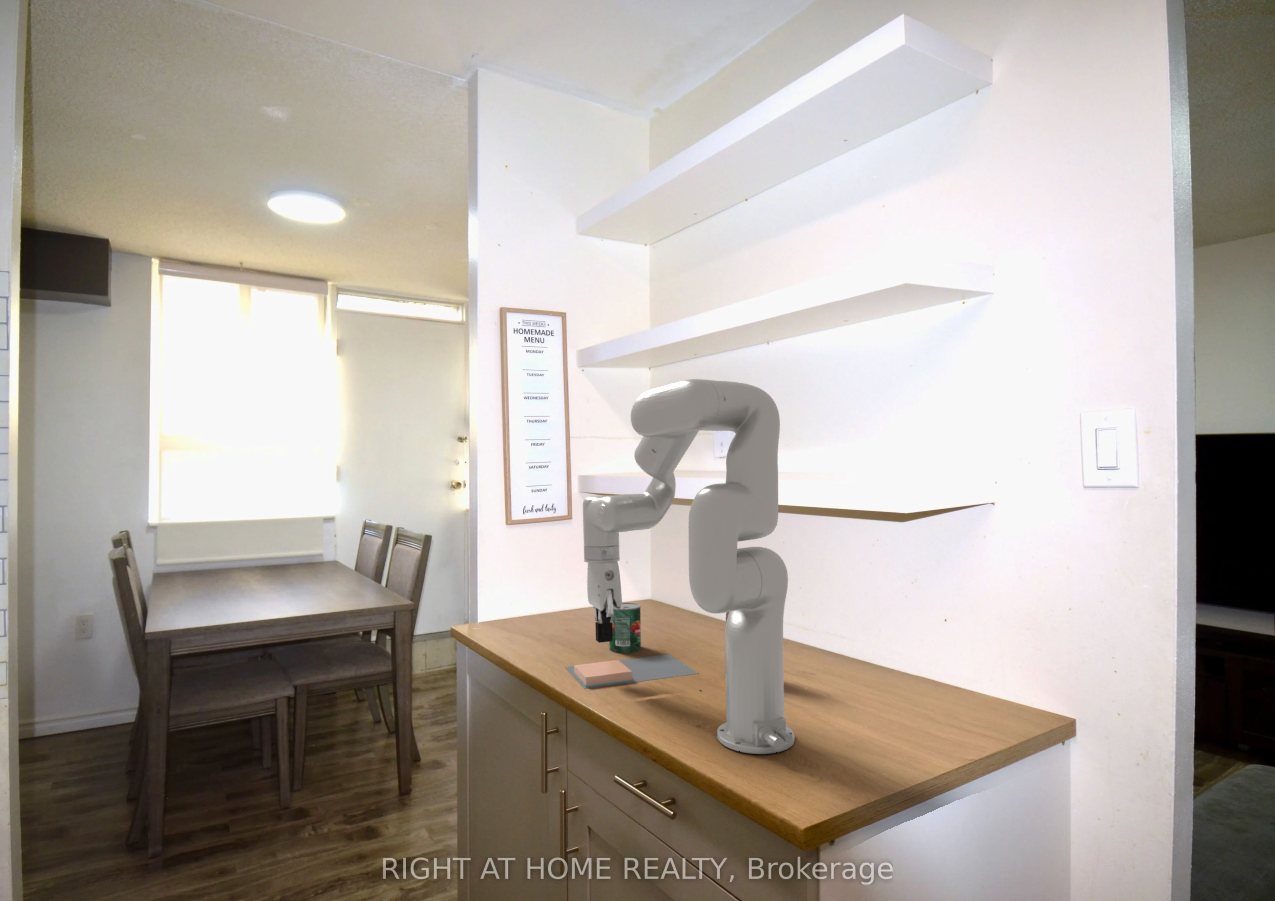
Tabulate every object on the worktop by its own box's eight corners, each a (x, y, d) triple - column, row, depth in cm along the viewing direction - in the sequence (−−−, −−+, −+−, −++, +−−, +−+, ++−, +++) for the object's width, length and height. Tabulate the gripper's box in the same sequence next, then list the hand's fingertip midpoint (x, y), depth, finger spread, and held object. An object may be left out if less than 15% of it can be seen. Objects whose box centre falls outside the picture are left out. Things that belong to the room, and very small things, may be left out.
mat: (699, 675, 147) (698, 673, 147) (584, 691, 138) (584, 688, 138) (669, 656, 162) (669, 654, 162) (564, 669, 153) (564, 666, 153)
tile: (618, 668, 151) (632, 680, 143) (574, 674, 148) (585, 687, 139) (617, 659, 151) (631, 671, 143) (574, 665, 148) (585, 677, 139)
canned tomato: (605, 648, 170) (604, 603, 171) (635, 644, 173) (634, 601, 173) (614, 656, 163) (613, 610, 163) (645, 653, 165) (644, 607, 165)
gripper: (630, 556, 140) (633, 647, 139) (607, 549, 154) (610, 631, 153) (595, 558, 137) (597, 651, 136) (575, 551, 151) (577, 635, 150)
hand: (604, 640), depth 145 cm, fingers closed
